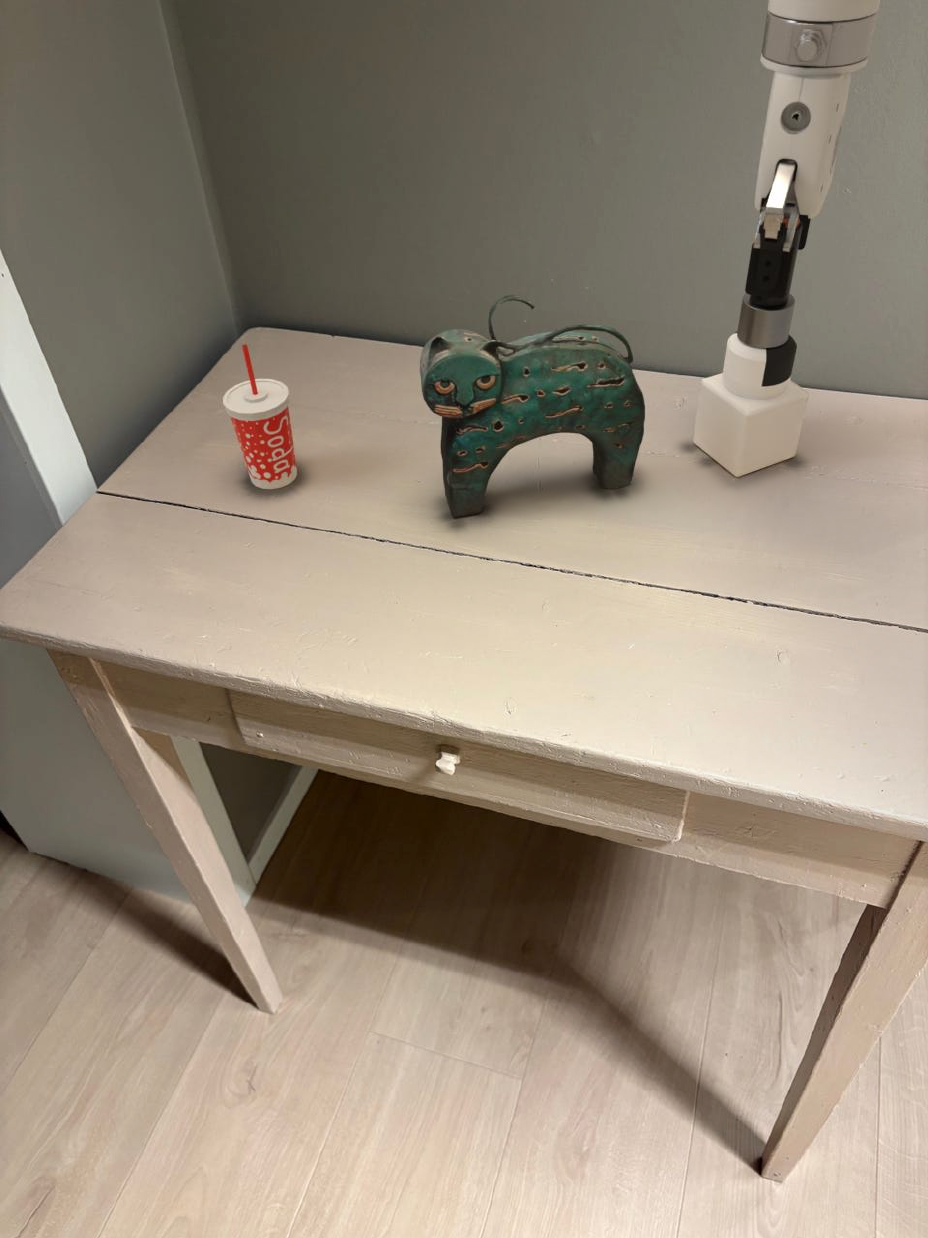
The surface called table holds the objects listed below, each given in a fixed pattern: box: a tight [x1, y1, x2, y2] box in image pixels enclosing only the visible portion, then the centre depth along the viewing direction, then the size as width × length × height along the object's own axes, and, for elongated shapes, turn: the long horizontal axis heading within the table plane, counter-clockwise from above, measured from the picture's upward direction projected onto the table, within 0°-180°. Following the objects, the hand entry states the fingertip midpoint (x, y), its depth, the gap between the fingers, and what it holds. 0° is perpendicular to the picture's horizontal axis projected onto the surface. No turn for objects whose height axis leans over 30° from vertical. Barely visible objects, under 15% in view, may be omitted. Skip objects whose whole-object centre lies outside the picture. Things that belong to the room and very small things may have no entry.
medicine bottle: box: [692, 330, 810, 478], centre depth 89 cm, size 7×7×12 cm
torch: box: [736, 217, 802, 348], centre depth 82 cm, size 4×4×10 cm
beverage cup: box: [222, 343, 298, 490], centre depth 90 cm, size 6×6×14 cm
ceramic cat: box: [419, 294, 646, 519], centre depth 84 cm, size 20×6×20 cm, turn 102°
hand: (775, 269), depth 81 cm, fingers open, 9 cm apart
